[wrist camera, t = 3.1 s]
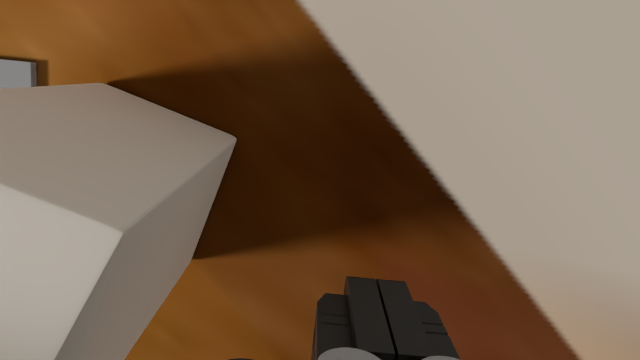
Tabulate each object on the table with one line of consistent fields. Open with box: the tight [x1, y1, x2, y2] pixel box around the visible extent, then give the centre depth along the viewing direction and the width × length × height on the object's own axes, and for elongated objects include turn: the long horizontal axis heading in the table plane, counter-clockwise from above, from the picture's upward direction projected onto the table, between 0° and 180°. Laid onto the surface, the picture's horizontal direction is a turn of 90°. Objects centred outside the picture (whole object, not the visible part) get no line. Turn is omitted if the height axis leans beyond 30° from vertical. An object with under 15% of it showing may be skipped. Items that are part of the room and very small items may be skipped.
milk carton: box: [0, 83, 237, 360], centre depth 16 cm, size 7×7×19 cm
